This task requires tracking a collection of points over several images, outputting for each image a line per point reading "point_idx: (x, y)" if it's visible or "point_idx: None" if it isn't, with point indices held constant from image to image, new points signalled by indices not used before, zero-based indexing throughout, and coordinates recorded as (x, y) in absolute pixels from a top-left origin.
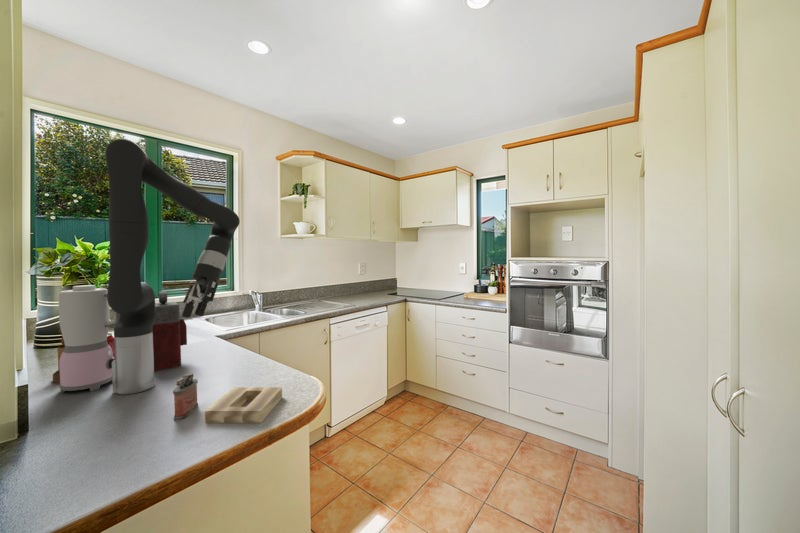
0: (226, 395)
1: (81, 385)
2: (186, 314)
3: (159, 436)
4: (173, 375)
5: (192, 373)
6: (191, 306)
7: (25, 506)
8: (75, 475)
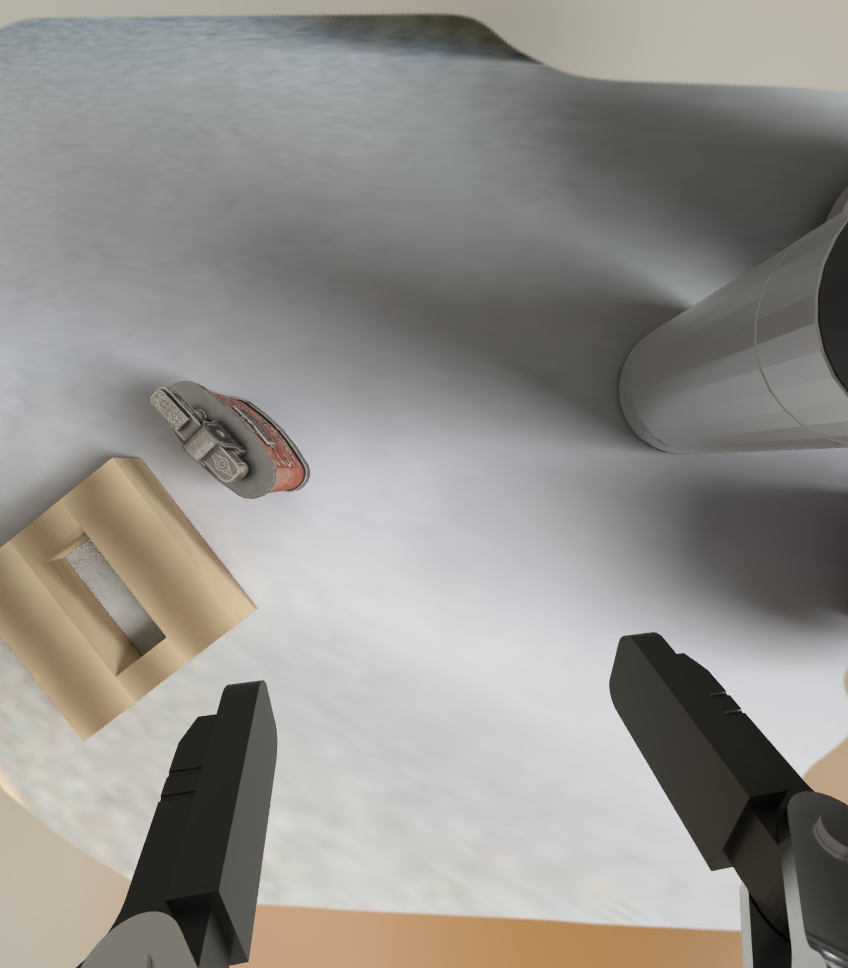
0: (183, 565)
1: (845, 206)
2: (635, 683)
3: (162, 335)
4: (729, 545)
5: (223, 477)
6: (711, 833)
7: (59, 46)
8: (116, 137)
